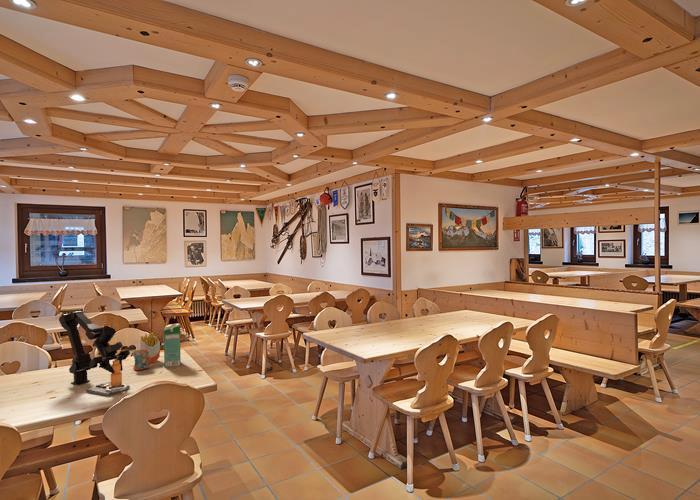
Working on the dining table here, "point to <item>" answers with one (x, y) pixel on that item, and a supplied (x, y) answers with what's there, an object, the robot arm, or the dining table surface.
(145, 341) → the french fries container
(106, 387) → the plate
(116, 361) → the wire nut
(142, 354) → the mug
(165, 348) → the milk carton
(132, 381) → the dining table surface
